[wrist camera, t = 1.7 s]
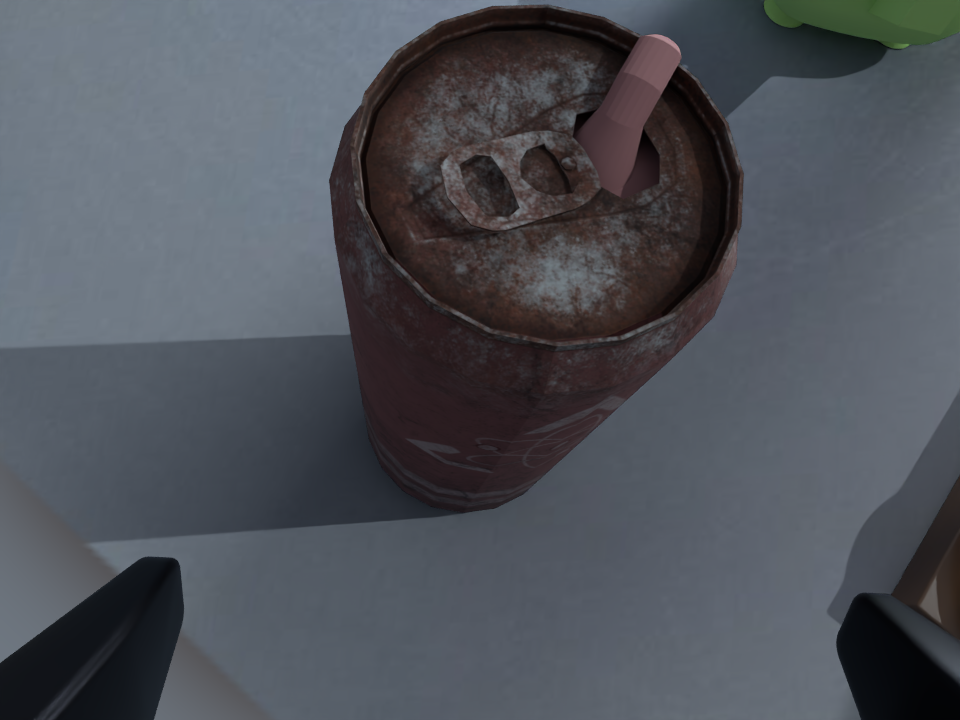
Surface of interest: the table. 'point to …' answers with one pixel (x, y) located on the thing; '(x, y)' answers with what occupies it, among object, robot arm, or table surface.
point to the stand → (937, 570)
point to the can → (524, 240)
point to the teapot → (873, 18)
